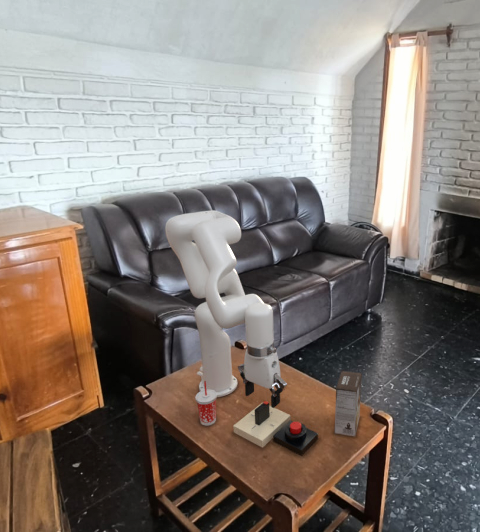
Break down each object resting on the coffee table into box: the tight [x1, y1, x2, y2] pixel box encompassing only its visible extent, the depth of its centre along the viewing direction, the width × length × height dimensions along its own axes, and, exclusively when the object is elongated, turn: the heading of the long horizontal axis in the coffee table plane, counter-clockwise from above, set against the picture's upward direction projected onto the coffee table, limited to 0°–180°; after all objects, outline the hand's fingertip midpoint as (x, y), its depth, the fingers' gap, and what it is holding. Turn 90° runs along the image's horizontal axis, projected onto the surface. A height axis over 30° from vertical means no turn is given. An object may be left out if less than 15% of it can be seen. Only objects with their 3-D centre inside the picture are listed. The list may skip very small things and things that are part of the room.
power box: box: [272, 419, 319, 457], centre depth 125 cm, size 10×8×4 cm
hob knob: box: [254, 400, 270, 425], centre depth 129 cm, size 5×2×5 cm, turn 148°
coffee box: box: [334, 370, 363, 437], centre depth 130 cm, size 9×6×16 cm
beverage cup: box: [195, 381, 218, 427], centre depth 130 cm, size 6×6×14 cm
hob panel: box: [232, 401, 291, 448], centre depth 130 cm, size 11×13×3 cm
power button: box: [290, 421, 302, 434], centre depth 124 cm, size 3×3×2 cm
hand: (262, 399), depth 127 cm, fingers open, 9 cm apart
